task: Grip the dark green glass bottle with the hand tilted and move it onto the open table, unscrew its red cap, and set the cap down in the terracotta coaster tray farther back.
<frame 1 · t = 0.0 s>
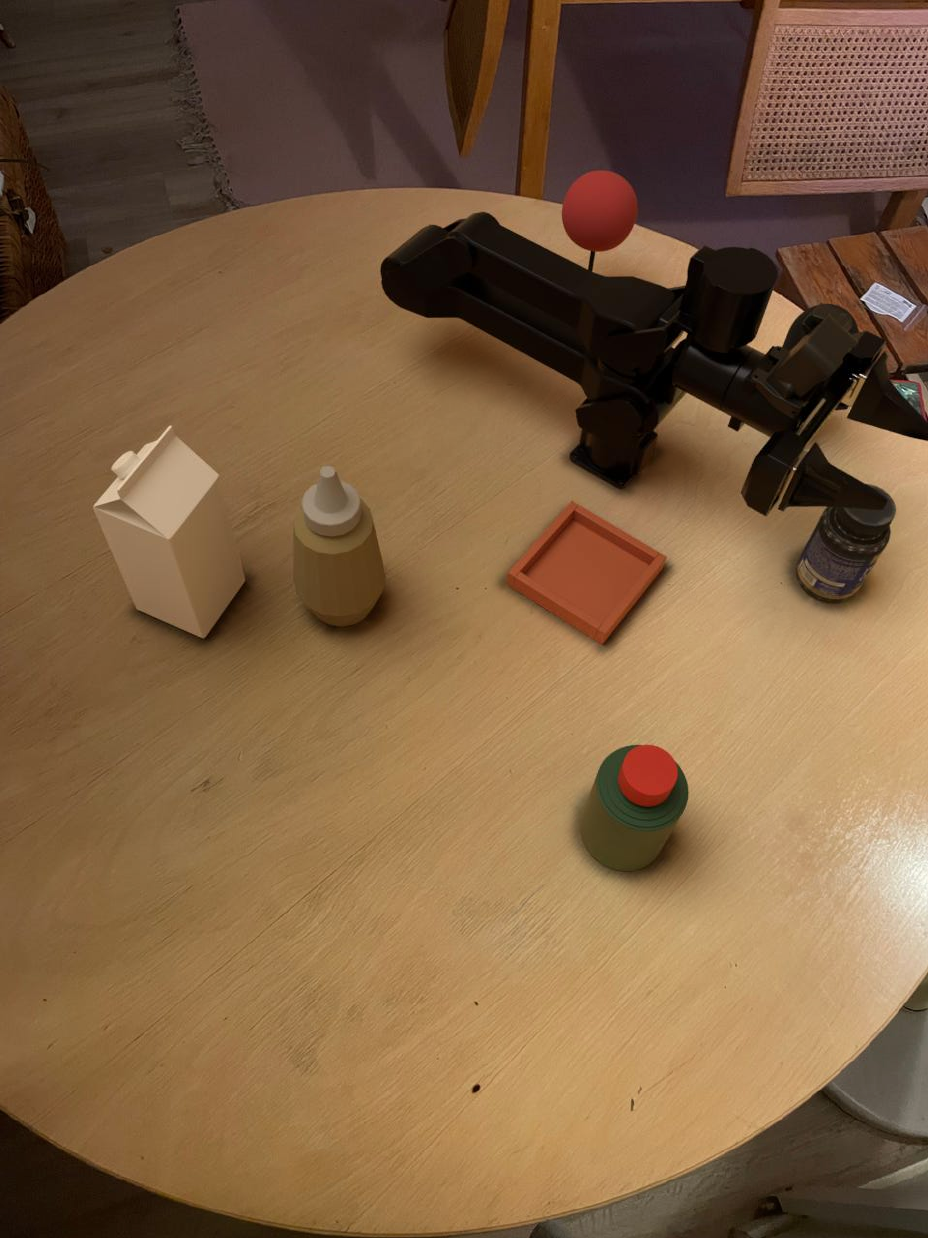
hand: (909, 469, 83), 17 cm above the table, tool horizontal, fingers open, 9 cm apart
pill bottle: (825, 578, 98), on the table
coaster: (585, 576, 97), on the table
squeeze bottle: (342, 601, 94), on the table
decorative object: (785, 425, 108), on the table
cap: (649, 771, 74), point 12 cm above the table, screwed on, not yet turned
bottle: (622, 830, 84), on the table
milk carton: (192, 596, 94), on the table
lollipop: (584, 298, 117), on the table
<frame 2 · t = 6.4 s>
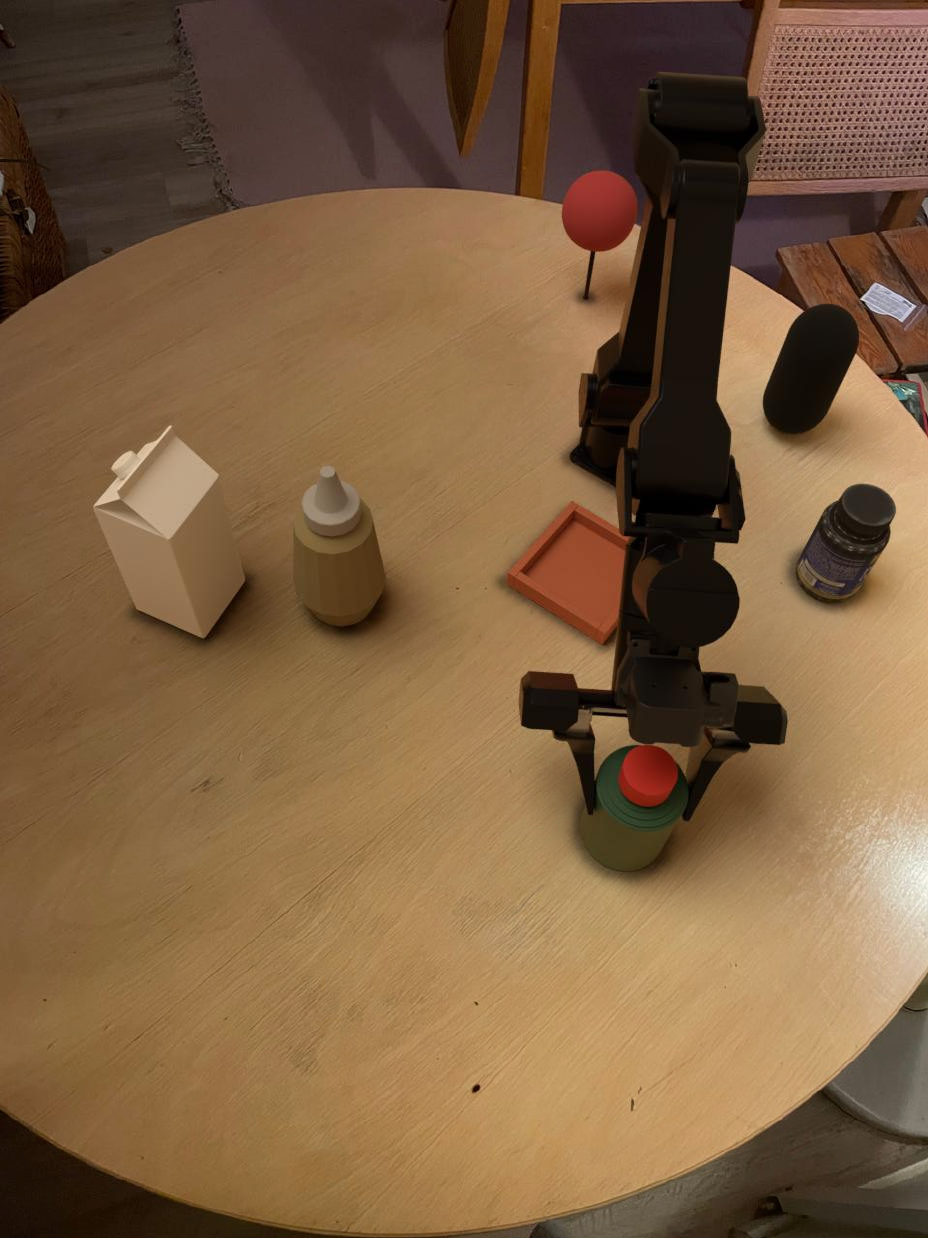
hand: (637, 816, 77), 7 cm above the table, tool tilted 45°, fingers closed on bottle, 7 cm apart
bottle: (622, 830, 84), on the table, touching gripper
everything else where it was.
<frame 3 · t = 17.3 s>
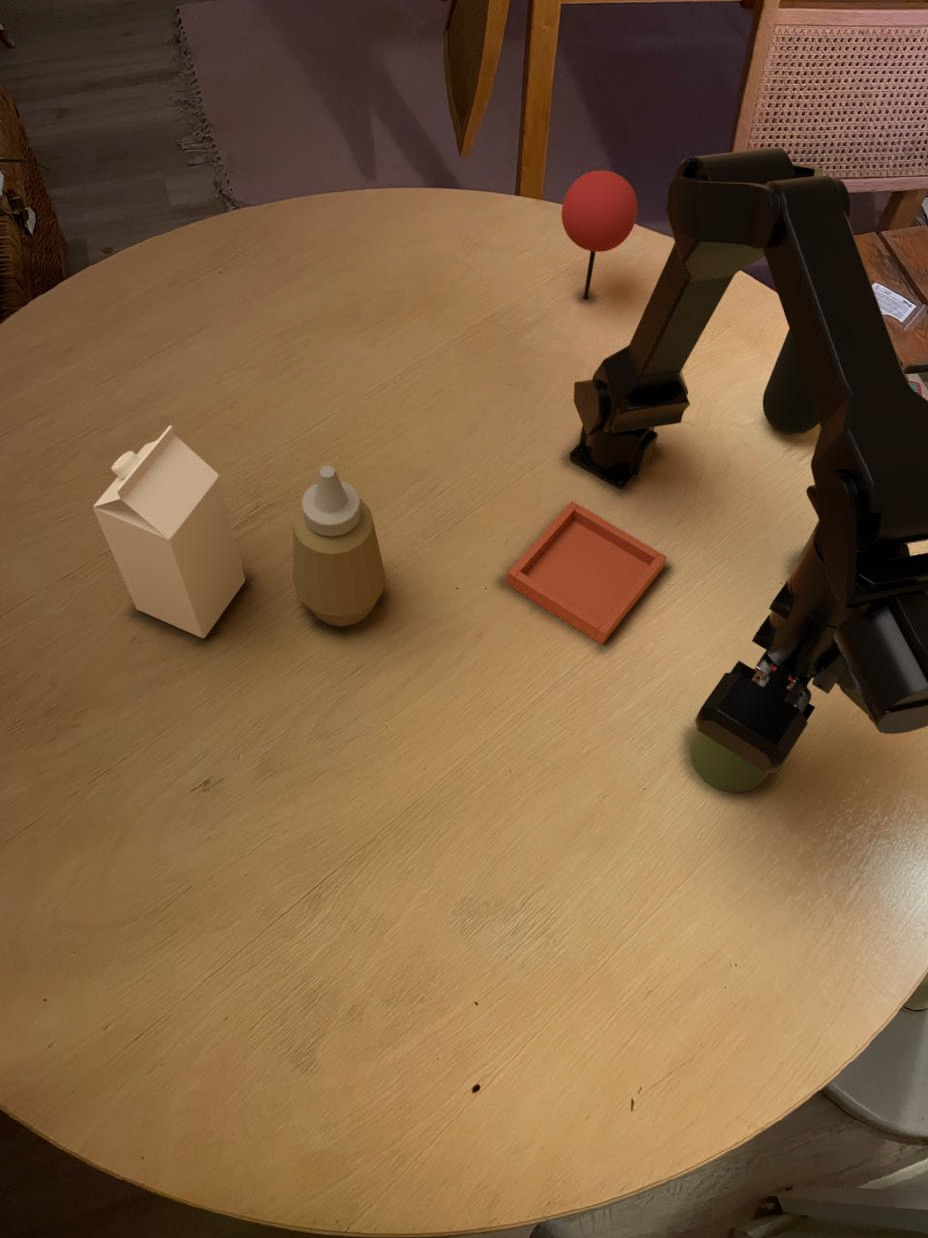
hand: (765, 703, 79), 10 cm above the table, tool pointing down, fingers closed on cap, 4 cm apart
cap: (769, 690, 77), point 12 cm above the table, screwed on, not yet turned, touching gripper
bottle: (729, 755, 87), on the table
everything else where it was.
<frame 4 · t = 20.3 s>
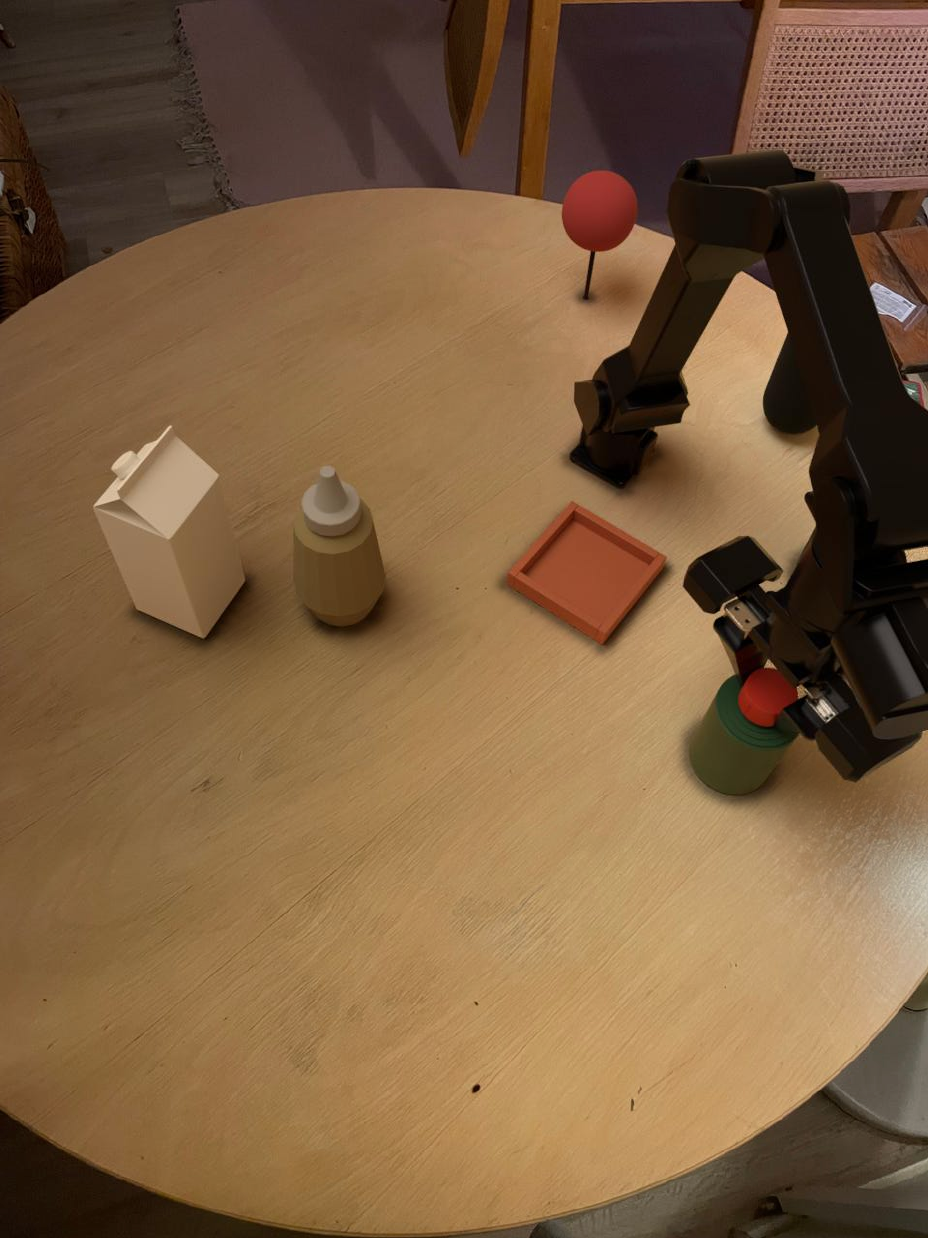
hand: (763, 706, 79), 10 cm above the table, tool pointing down, fingers closed on cap, 4 cm apart
cap: (770, 692, 77), point 12 cm above the table, turned 68° so far, risen 0.1 cm, still on its thread, touching gripper
bottle: (729, 757, 87), on the table
everything else where it was.
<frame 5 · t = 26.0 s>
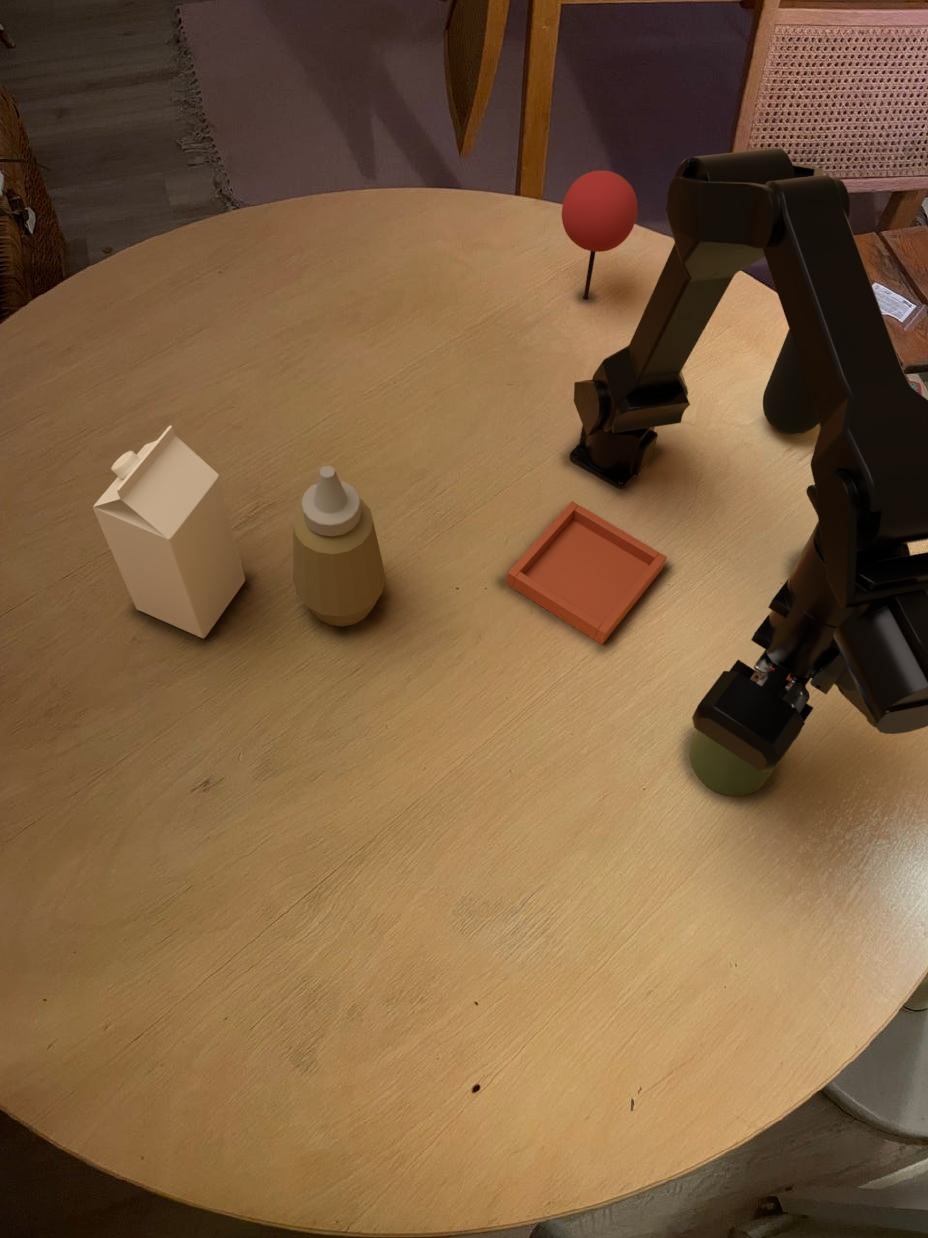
hand: (765, 704, 79), 10 cm above the table, tool pointing down, fingers closed on cap, 4 cm apart
cap: (770, 692, 77), point 12 cm above the table, turned 136° so far, risen 0.1 cm, still on its thread, touching gripper
bottle: (729, 758, 87), on the table
everything else where it was.
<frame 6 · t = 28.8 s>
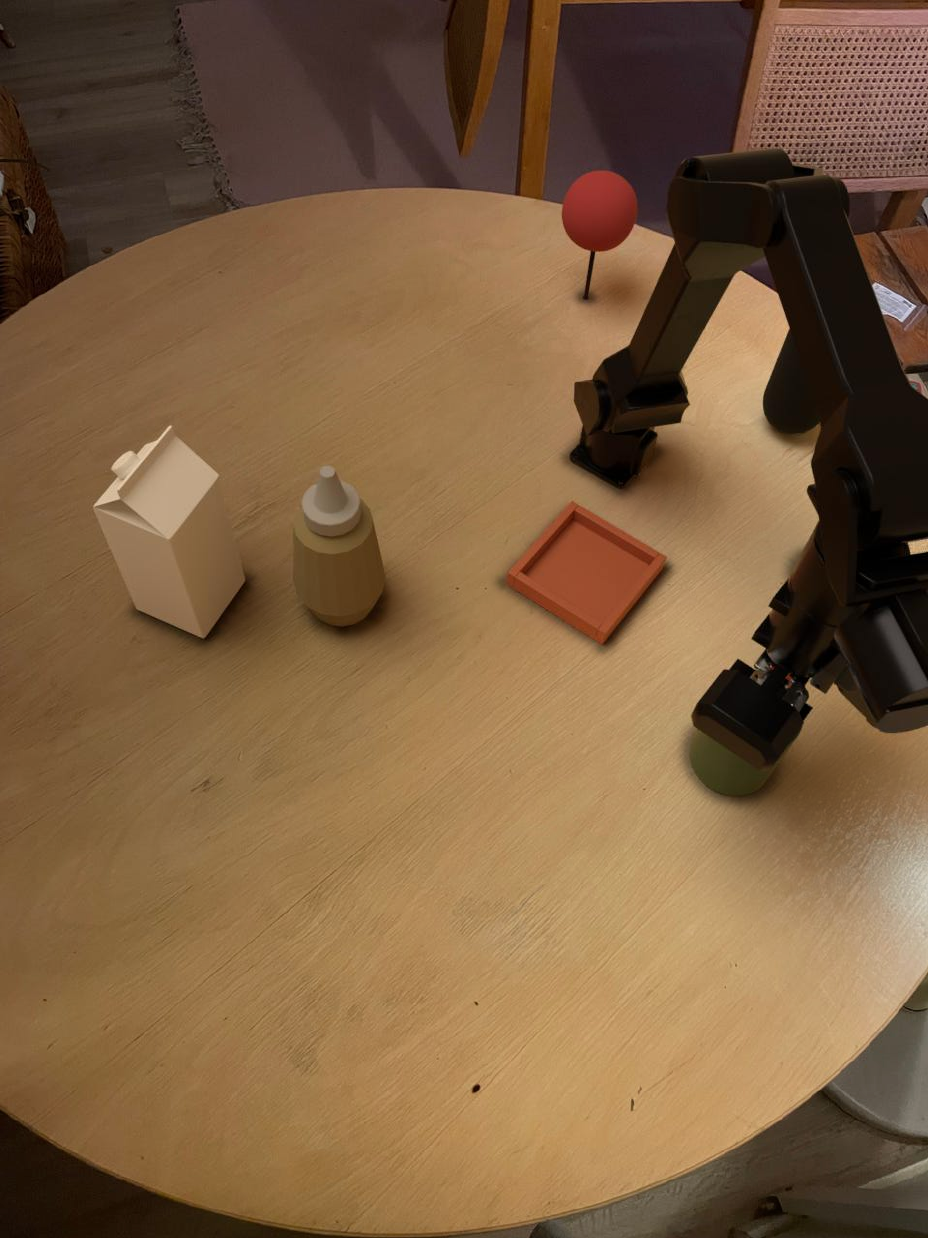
hand: (765, 703, 79), 10 cm above the table, tool pointing down, fingers closed on cap, 4 cm apart
cap: (770, 692, 77), point 12 cm above the table, turned 204° so far, risen 0.2 cm, still on its thread, touching gripper
everything else where it was.
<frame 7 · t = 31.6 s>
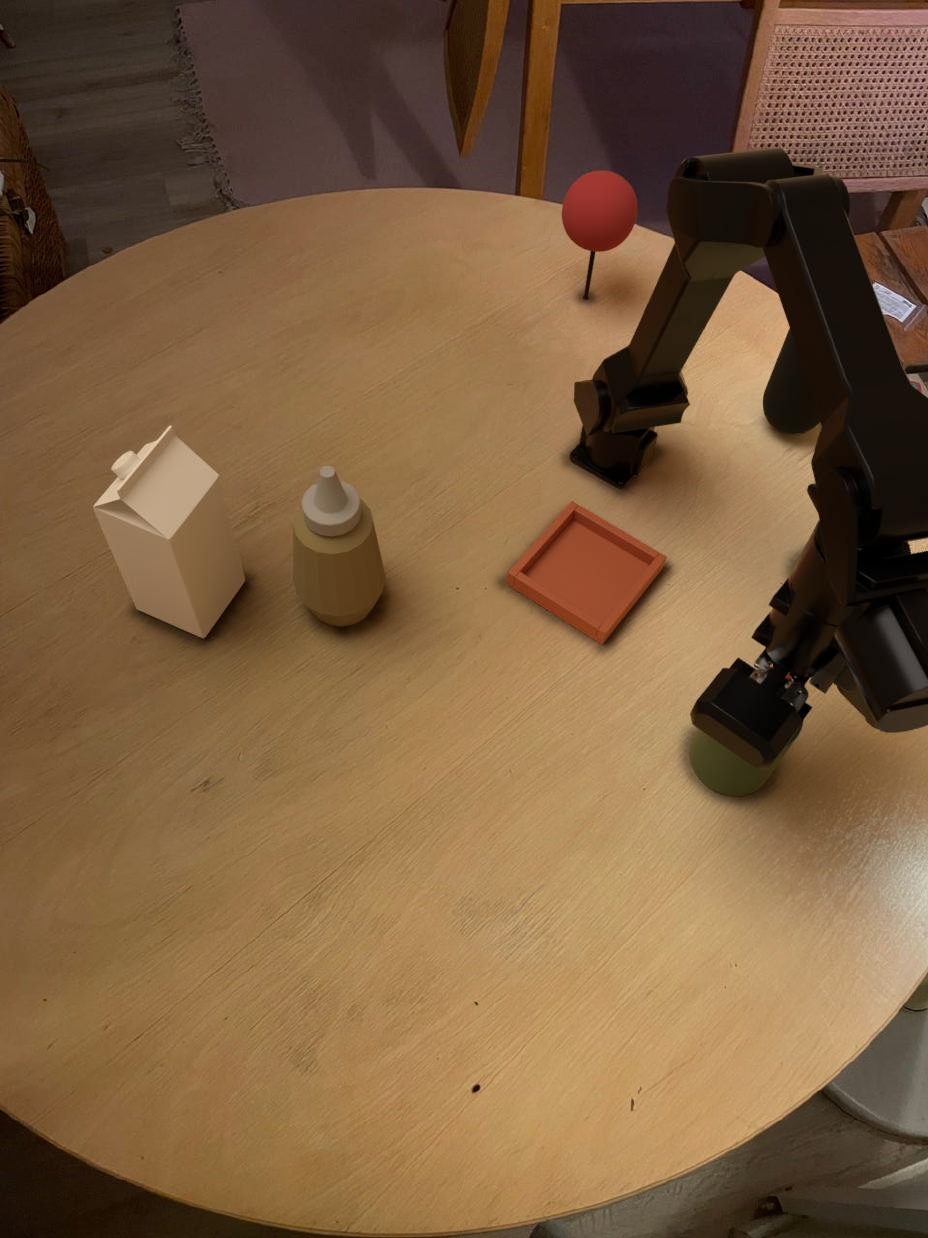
hand: (765, 703, 79), 10 cm above the table, tool pointing down, fingers closed on cap, 4 cm apart
cap: (770, 691, 77), point 12 cm above the table, turned 271° so far, risen 0.3 cm, still on its thread, touching gripper
everything else where it was.
when the fingers open (3 cm above the table, at t = 40.9 s): cap drops 3 cm, resting on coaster.
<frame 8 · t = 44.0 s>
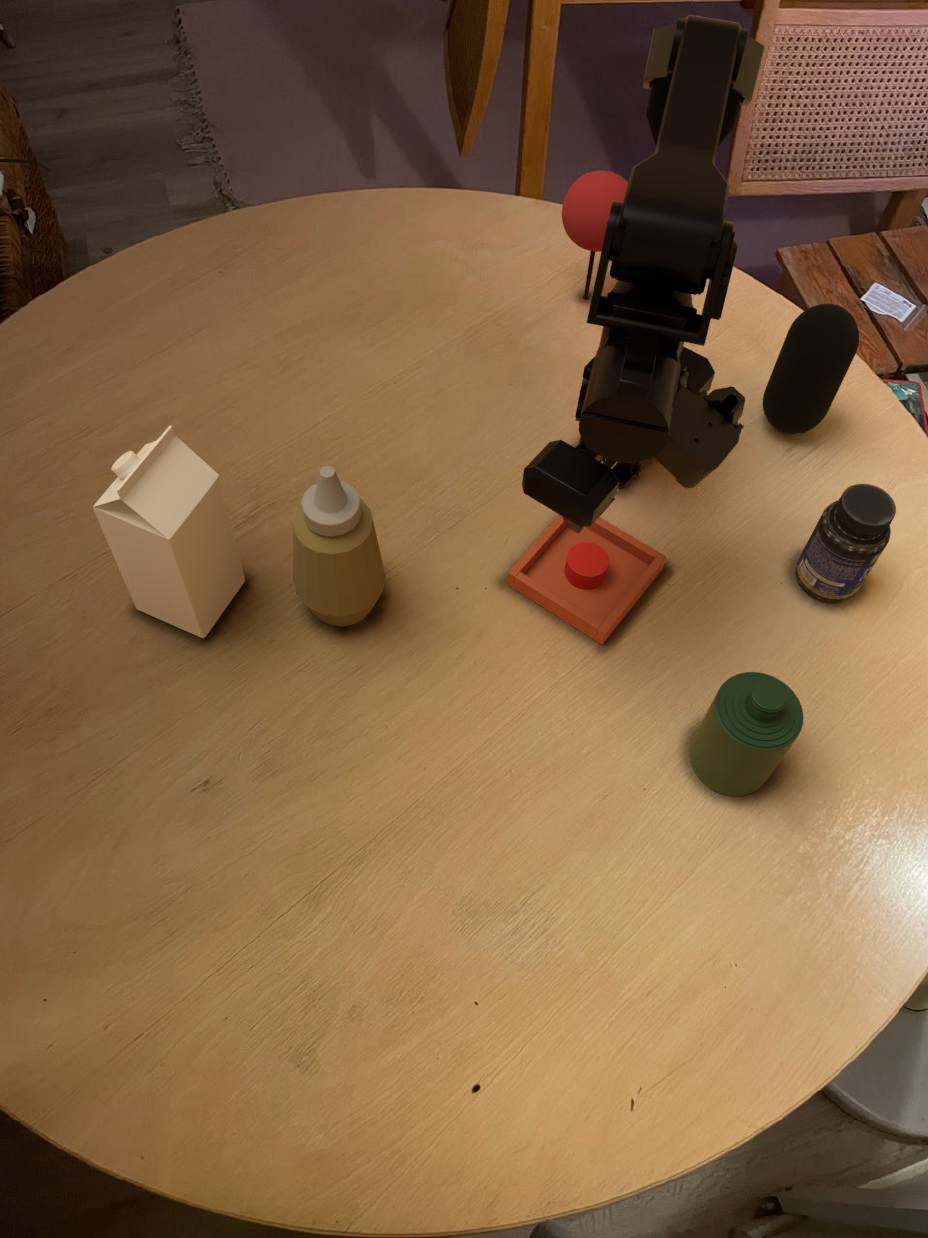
hand: (604, 495, 87), 12 cm above the table, tool pointing down, fingers open, 9 cm apart
cap: (587, 561, 95), point 2 cm above the table, off its thread, touching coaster
everything else where it was.
at the end: cap inside the target area on the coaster (0.1 cm from its centre), point 2.1 cm above the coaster's base; the gripper is holding nothing; bottle 0.1 cm from the target spot, on the table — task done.
